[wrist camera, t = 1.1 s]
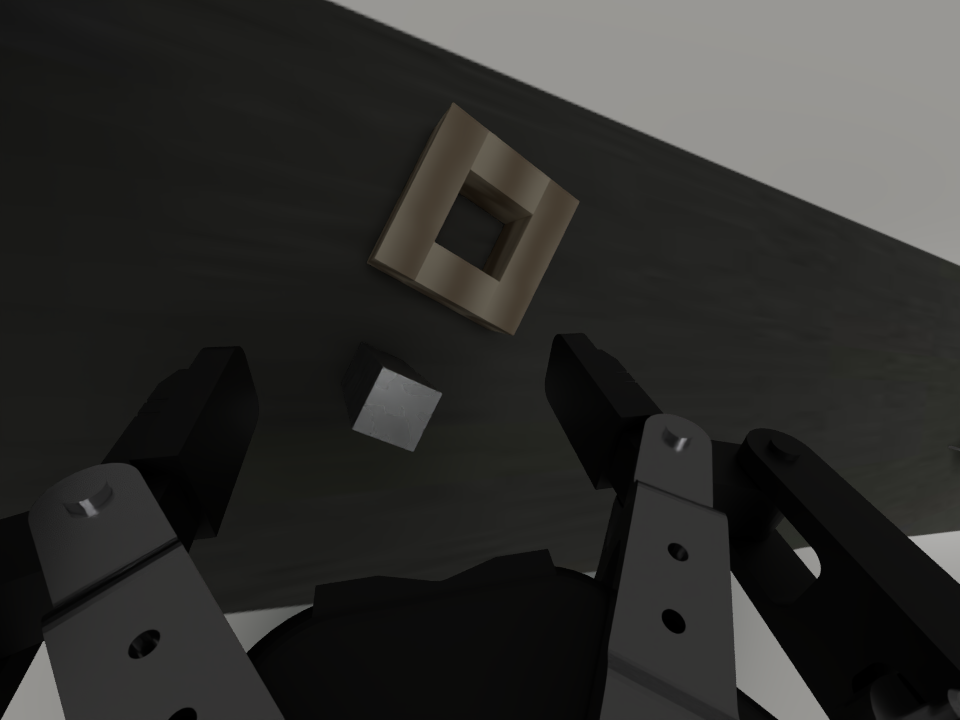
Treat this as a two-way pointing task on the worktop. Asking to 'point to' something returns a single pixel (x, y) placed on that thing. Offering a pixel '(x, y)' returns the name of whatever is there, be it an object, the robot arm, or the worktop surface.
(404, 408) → the grey square pillar
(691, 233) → the worktop surface
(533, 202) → the well block
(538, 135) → the worktop surface
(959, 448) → the lollipop
